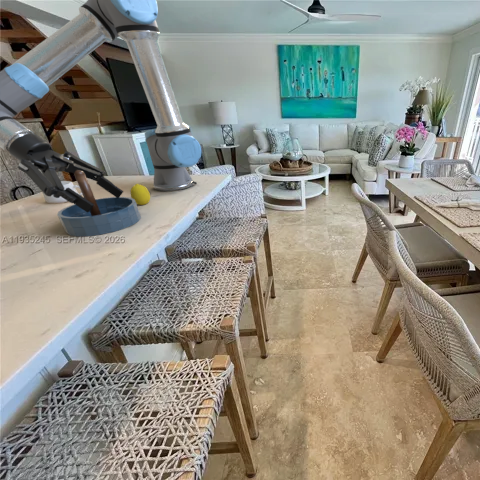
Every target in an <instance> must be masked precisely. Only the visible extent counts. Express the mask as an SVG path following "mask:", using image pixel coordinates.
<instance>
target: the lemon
mask: <svg viewBox="0 0 480 480" xmlns="http://www.w3.org/2000/svg"><path fill="white" fill-rule="evenodd" d="M129 194H130V198H132V199H135V201H136V204H137V205H140V206H144V205H147V204H149V202H150V201H151V193H150V191H149V190H148V188H147V187H146V186H145V185H143V184H139V183H135V184H134V185H133V186H132V187H131V188H130V193H129Z"/></svg>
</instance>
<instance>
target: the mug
mask: <svg viewBox="0 0 480 480" xmlns="http://www.w3.org/2000/svg"><path fill="white" fill-rule="evenodd" d="M60 181H61V183H62V184H63V186H64V190H65V189H66V188H70V189H72V190H73V191H75V192H76V193H78V194H79V195H81V196H82V197H83V194H82V192H81V191H80V193H79V192H78V190H77V189H80V187H79V185H78V184H77V185H76V184H75V185H74V183H73V182H72V181H70V180H60ZM42 196H43V198H44V201H45V202H46V203H48V204H62V203H69V202H68V201H67V200H65V199H64V198H62V197H61V196H60V197H59V198H55V197H54V196H53V195H52V196H46V195H45V194H44V193H43V192H42Z"/></svg>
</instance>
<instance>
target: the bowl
mask: <svg viewBox="0 0 480 480" xmlns="http://www.w3.org/2000/svg"><path fill="white" fill-rule="evenodd" d="M95 200H96V202H97V205H98V207H99V210H100V212H101V214H100V215H95V216H92V215H91V213H90V212H88V213H87V212H86V211H84V210H83V209H81V208H80V207H78V206H77V205H75V204H74V203H73V204H71V205H69V206H66V207H64V208H62V209H60V210H59V211H58V212H57V214H56V215H57V217H58V219H59V222H60V223H61V225H62V228H63V229H64V232H65V233H66V234H67V235H69V236H73V237H94V236H101V235H106V234H110V233H115V232H118V231H121V230H124V229H126V228H129V227H132V226H133V225H135V224H137V223H138V222H140V220H141V218H142V217H141V213H140V210H139V207H138V204H137V203H136V201H135V199H132V198H131V197H127V196H120V197H119V198H116V197H115V196H111V197H109V196H108V197H102V198H101V197H100V198H95Z"/></svg>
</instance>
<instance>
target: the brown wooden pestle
mask: <svg viewBox="0 0 480 480" xmlns="http://www.w3.org/2000/svg"><path fill="white" fill-rule="evenodd" d="M73 175H74V178H75V180H76V182H77V185H78V186H79V187H80V188H79V190H80V193H81V192H82V194H83V195H82V197H84V198H85V199H86V200H88V201H89V202H91V203H92V204H94V206H93V207H92V209H91V210H90V213H91V215H92V216H95V215H100V214H101V212H100V210H99V207H98V205H97V202H96V200H95V199H96V197H95V194H94V192H93V190H92V188H91V185H90V183H89V180H88V178H86V175H85V173H84V172H83V171H81V170H77V171H75V172H74V173H73Z"/></svg>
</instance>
